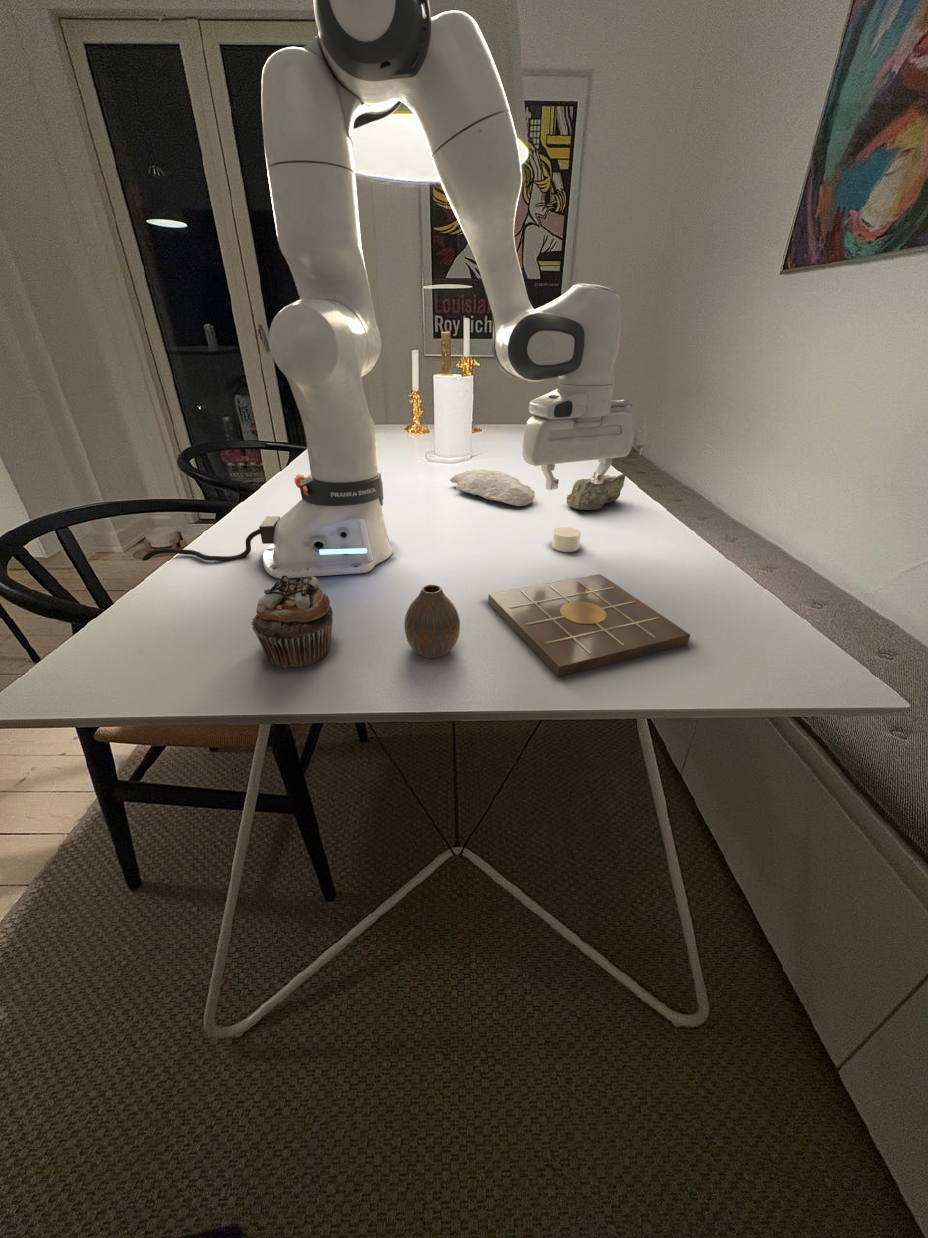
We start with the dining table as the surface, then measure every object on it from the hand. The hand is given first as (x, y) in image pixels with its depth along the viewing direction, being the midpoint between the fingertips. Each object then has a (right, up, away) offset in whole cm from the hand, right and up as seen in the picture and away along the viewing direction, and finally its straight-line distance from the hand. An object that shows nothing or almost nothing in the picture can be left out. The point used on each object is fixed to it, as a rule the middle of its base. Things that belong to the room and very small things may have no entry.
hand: (574, 485), depth 91 cm
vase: (-24, -28, -25) cm, 44 cm away
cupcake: (-41, -28, -26) cm, 56 cm away
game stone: (-1, -10, +6) cm, 12 cm away
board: (-3, -24, -18) cm, 31 cm away
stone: (-12, +7, +35) cm, 38 cm away
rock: (+10, +3, +29) cm, 30 cm away
